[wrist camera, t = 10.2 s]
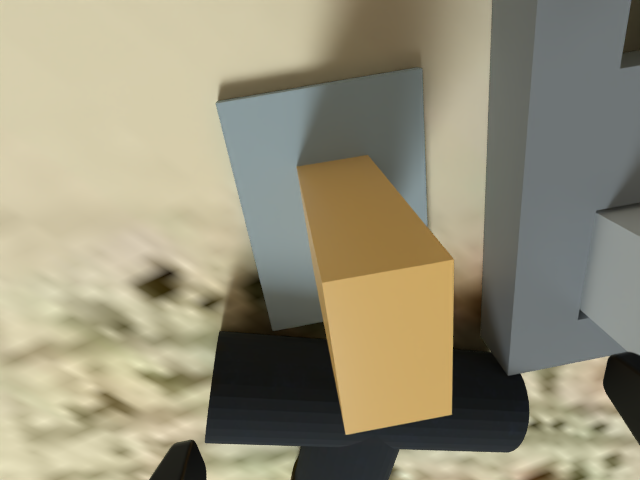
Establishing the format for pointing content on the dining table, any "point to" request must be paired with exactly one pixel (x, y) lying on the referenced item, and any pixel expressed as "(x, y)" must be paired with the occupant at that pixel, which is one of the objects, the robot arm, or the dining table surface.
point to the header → (554, 172)
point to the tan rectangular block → (379, 296)
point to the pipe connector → (325, 413)
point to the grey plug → (615, 275)
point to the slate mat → (309, 148)
